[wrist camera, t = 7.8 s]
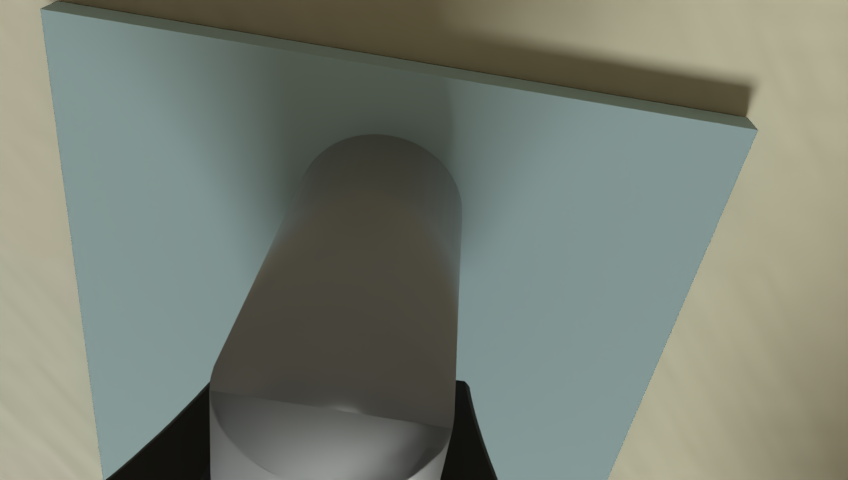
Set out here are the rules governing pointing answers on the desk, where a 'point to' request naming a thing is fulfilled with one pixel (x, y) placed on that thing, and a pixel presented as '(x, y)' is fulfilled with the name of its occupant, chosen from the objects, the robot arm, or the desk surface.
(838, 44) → the desk surface
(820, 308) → the desk surface
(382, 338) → the plug
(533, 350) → the mat
